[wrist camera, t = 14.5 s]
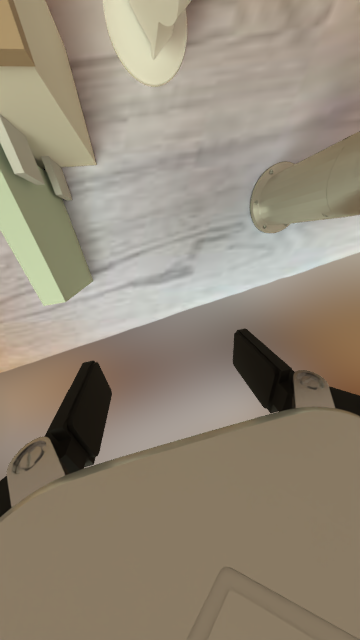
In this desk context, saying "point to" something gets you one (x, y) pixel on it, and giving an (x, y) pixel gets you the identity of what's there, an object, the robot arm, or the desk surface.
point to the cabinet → (39, 97)
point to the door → (41, 236)
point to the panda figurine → (148, 37)
